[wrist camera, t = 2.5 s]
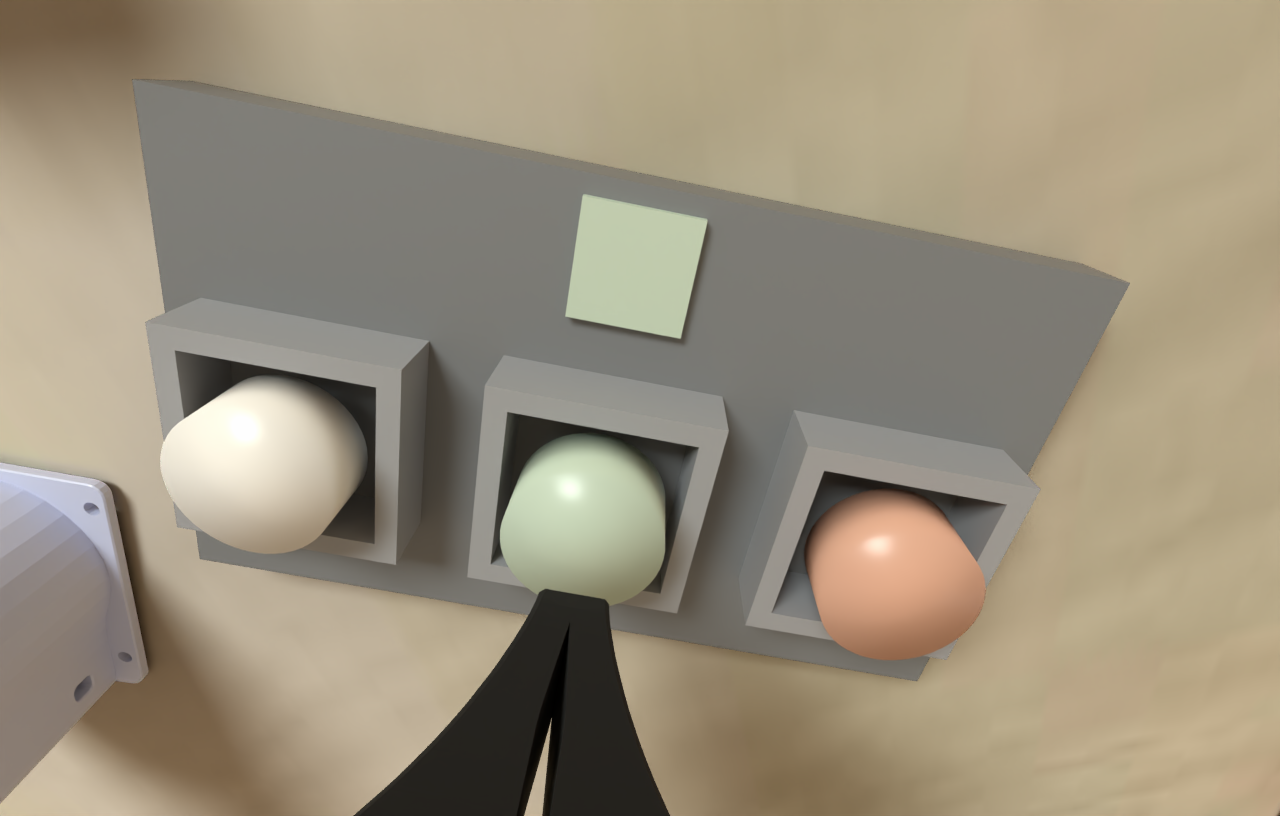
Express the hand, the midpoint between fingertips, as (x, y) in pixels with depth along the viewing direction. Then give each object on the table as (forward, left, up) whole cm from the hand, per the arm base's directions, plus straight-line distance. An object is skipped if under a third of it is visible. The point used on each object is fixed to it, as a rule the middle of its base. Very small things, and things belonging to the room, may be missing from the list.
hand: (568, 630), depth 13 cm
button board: (+1, 0, -8) cm, 8 cm away
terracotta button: (0, -8, -5) cm, 9 cm away
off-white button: (0, +8, -5) cm, 9 cm away
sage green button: (0, 0, -5) cm, 5 cm away
